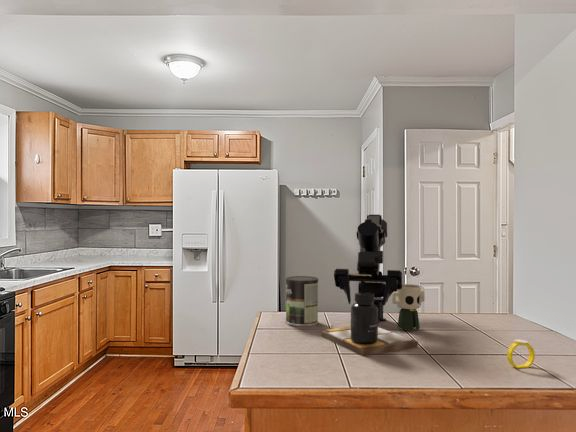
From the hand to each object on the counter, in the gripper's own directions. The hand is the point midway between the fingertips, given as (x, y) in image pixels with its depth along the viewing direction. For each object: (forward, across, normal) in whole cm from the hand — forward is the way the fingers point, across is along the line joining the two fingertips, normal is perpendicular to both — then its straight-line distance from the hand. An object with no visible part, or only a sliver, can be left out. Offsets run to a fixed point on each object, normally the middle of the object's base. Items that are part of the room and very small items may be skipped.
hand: (366, 303), depth 122 cm
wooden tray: (+8, 0, +6) cm, 10 cm away
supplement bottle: (+11, 0, 0) cm, 11 cm away
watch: (+17, +35, -2) cm, 39 cm away
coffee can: (-4, -21, +19) cm, 29 cm away
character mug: (-3, +11, +18) cm, 21 cm away
